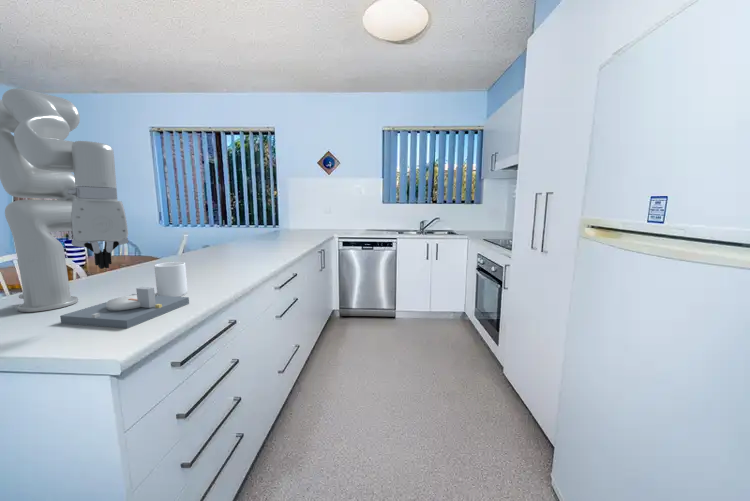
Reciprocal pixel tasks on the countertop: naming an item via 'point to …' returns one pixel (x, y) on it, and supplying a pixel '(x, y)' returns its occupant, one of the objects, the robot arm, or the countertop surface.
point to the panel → (123, 313)
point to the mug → (171, 279)
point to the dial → (134, 300)
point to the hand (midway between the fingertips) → (103, 267)
